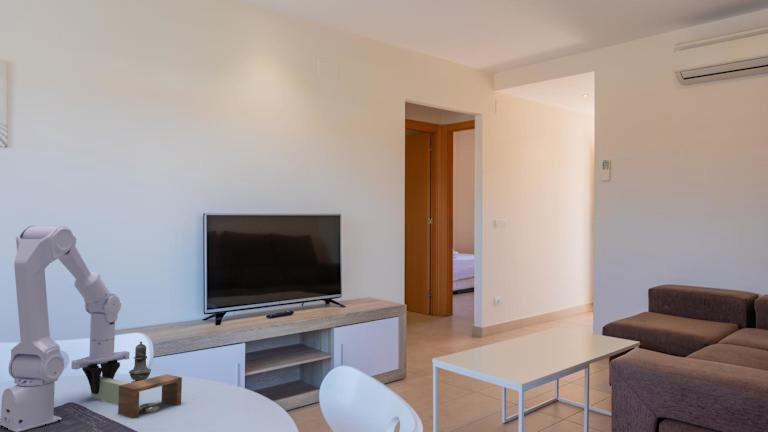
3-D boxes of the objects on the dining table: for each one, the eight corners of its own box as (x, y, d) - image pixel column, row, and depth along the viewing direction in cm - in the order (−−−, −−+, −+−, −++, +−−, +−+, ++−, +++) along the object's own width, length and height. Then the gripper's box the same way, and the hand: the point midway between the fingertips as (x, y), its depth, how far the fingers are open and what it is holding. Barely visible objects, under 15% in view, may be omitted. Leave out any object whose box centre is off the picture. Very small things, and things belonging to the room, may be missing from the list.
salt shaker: (135, 387, 149) (136, 343, 149) (124, 383, 152) (125, 341, 153) (155, 383, 154) (156, 340, 154) (144, 379, 157) (145, 338, 158)
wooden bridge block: (133, 418, 123) (134, 389, 123) (118, 413, 126) (119, 385, 126) (181, 404, 134) (181, 377, 134) (165, 400, 137) (166, 374, 138)
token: (147, 415, 126) (147, 409, 126) (135, 412, 128) (135, 406, 128) (163, 410, 130) (163, 404, 130) (151, 407, 132) (152, 401, 132)
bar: (129, 407, 131) (129, 387, 131) (91, 397, 139) (92, 378, 139) (138, 405, 133) (138, 385, 133) (100, 395, 141) (101, 376, 141)
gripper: (119, 333, 148) (117, 383, 147) (65, 341, 136) (63, 396, 135) (134, 336, 144) (133, 387, 144) (81, 344, 132) (79, 400, 131)
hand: (100, 391), depth 139 cm, fingers closed on bar, 2 cm apart
